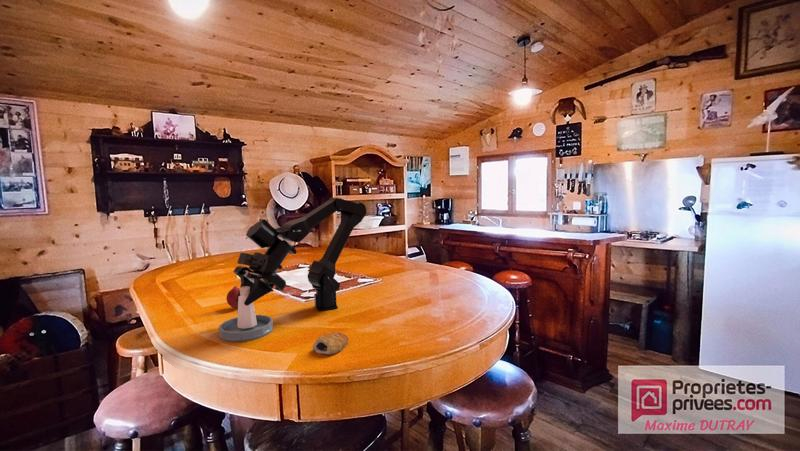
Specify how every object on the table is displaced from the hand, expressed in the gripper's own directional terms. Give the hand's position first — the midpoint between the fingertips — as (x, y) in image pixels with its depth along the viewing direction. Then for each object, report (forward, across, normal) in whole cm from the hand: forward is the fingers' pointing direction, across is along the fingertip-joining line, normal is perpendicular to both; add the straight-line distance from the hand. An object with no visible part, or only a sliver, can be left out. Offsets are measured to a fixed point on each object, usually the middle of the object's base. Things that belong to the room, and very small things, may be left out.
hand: (241, 303), depth 103 cm
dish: (+5, 0, +7) cm, 9 cm away
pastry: (+1, +28, +12) cm, 30 cm away
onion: (-1, -22, +14) cm, 26 cm away
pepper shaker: (+4, 0, +6) cm, 7 cm away
